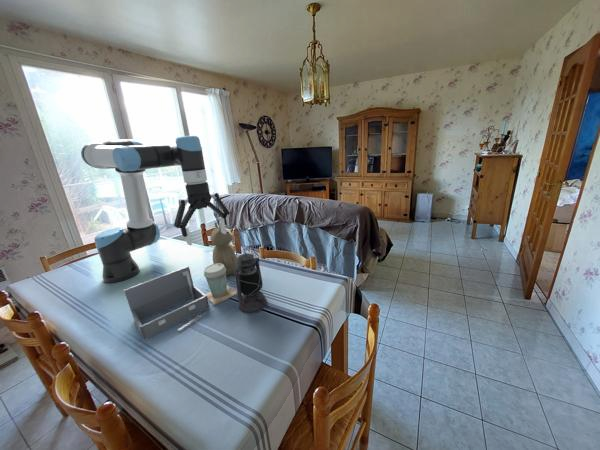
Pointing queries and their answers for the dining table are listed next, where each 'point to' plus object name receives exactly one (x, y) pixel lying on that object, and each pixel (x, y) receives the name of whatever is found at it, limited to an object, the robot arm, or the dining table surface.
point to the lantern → (249, 283)
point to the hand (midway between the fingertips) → (207, 238)
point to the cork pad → (217, 300)
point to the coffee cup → (216, 279)
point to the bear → (223, 250)
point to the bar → (191, 322)
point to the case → (164, 301)
